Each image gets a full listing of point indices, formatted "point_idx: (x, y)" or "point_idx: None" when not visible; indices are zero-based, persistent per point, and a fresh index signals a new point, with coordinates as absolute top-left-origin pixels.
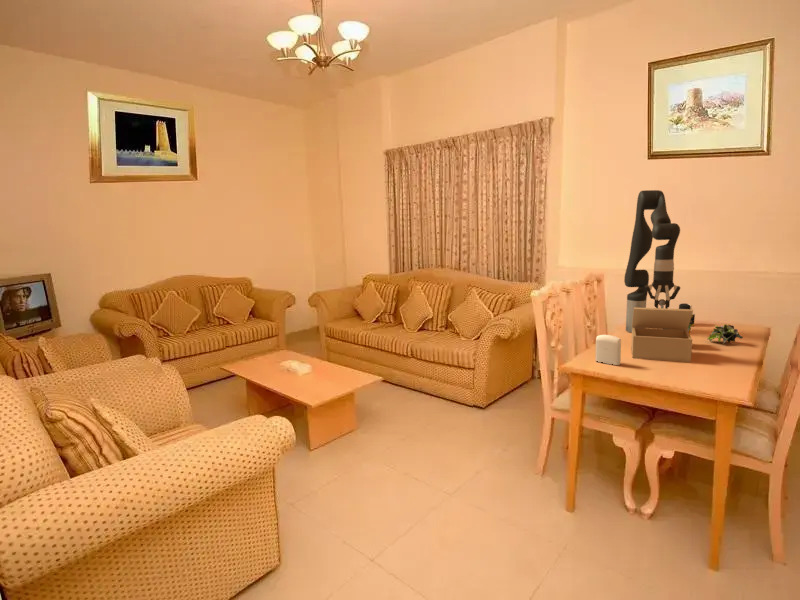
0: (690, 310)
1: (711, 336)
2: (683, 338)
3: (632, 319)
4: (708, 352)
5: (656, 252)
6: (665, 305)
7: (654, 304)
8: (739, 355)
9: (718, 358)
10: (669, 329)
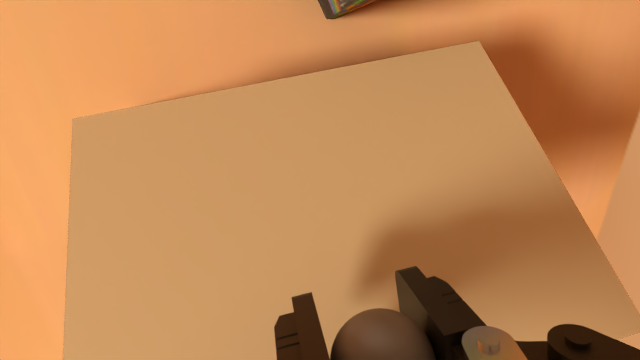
0: (618, 337)
1: None
2: None
3: (72, 236)
4: (504, 16)
5: None
6: (409, 299)
7: (278, 349)
8: (619, 12)
9: (529, 109)
10: (353, 1)
